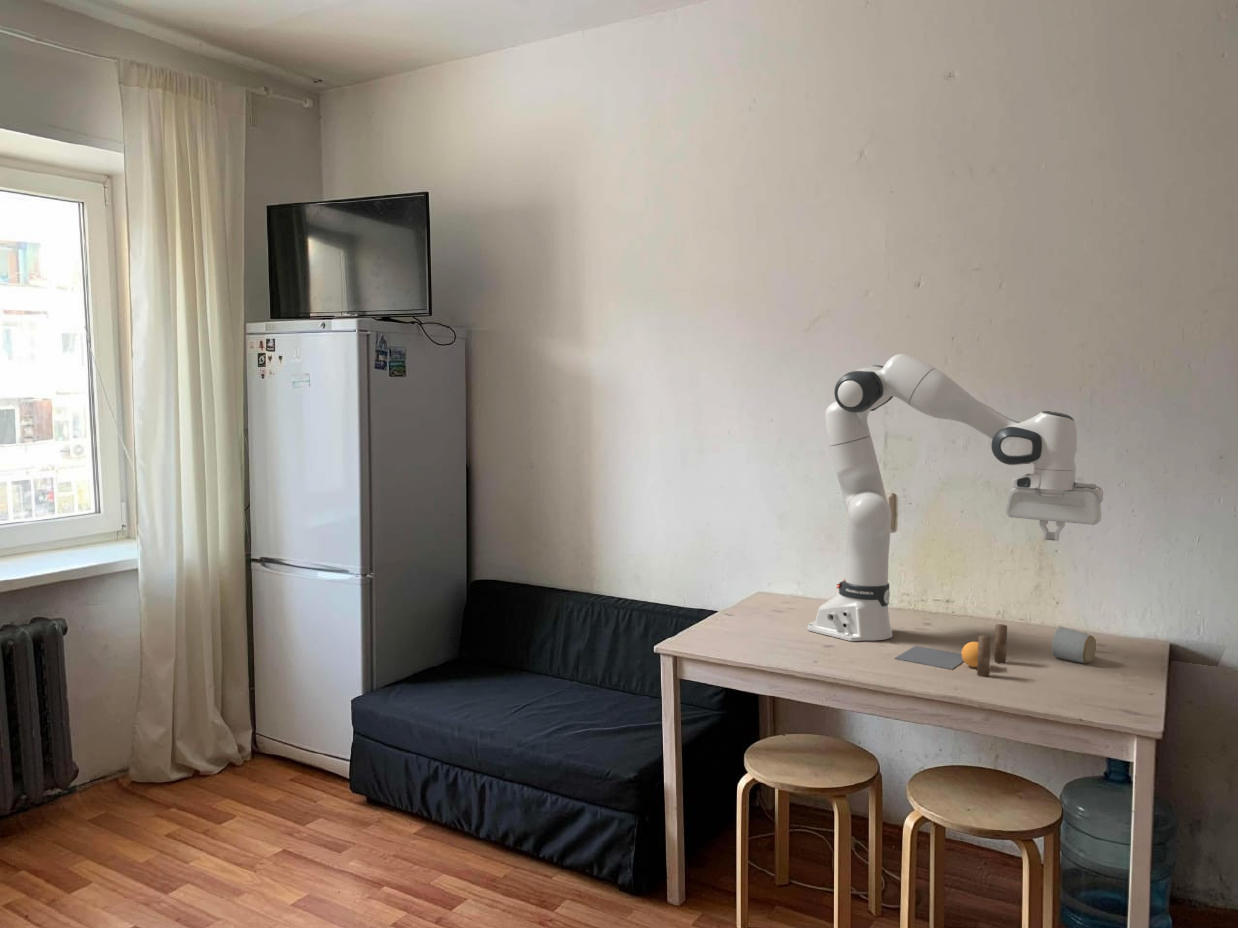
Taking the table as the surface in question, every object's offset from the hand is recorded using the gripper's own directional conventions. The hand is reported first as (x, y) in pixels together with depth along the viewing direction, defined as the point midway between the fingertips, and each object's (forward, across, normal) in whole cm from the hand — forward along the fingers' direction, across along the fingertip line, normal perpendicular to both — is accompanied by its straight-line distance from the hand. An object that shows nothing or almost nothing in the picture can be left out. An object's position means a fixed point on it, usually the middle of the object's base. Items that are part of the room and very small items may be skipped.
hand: (1051, 539), depth 217 cm
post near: (+31, +10, +14) cm, 36 cm away
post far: (+31, +10, +1) cm, 32 cm away
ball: (+28, +14, +9) cm, 32 cm away
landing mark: (+31, +24, +8) cm, 40 cm away
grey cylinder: (+31, -4, -13) cm, 34 cm away
